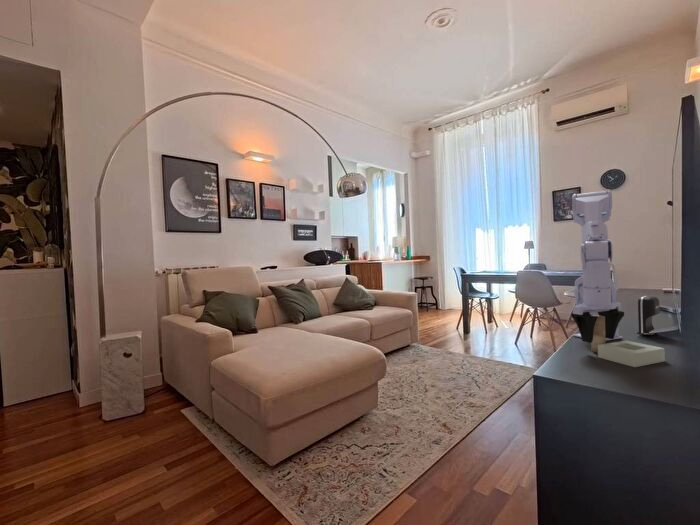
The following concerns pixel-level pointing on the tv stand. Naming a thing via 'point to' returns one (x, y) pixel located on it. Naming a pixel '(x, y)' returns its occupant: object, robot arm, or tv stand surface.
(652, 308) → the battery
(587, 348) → the tv stand surface
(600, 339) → the peg
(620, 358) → the hole block
